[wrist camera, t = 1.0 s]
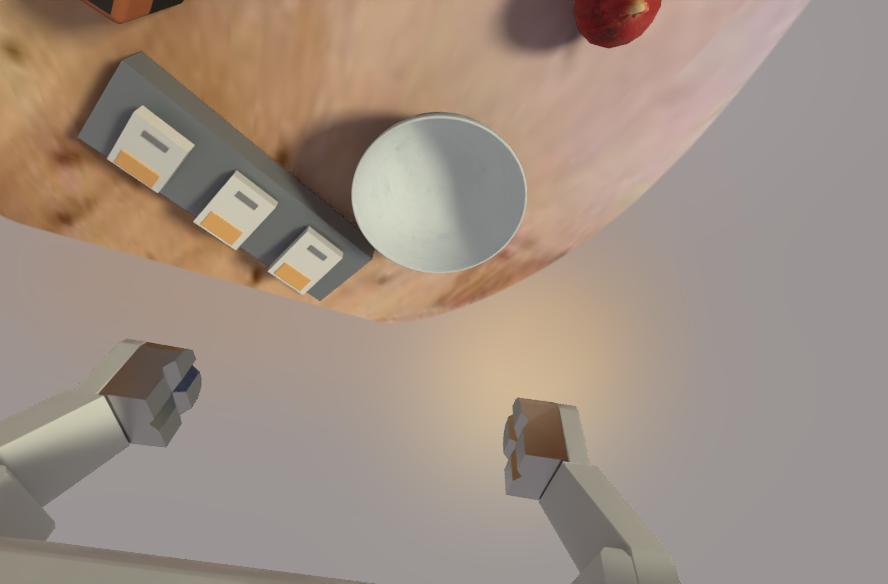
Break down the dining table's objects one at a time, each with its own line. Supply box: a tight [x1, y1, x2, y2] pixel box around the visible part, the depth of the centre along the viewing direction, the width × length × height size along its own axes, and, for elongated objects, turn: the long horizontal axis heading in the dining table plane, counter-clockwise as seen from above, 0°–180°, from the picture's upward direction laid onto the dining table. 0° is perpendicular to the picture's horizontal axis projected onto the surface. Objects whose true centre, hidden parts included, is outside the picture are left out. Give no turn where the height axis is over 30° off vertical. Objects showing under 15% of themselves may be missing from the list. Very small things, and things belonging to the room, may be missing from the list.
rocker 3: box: [268, 226, 343, 295], centre depth 45 cm, size 4×6×2 cm
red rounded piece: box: [574, 0, 661, 48], centre depth 31 cm, size 6×6×8 cm
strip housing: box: [78, 51, 374, 301], centre depth 43 cm, size 26×9×3 cm, turn 42°
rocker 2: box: [193, 170, 278, 250], centre depth 41 cm, size 4×6×2 cm
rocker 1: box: [107, 105, 195, 193], centre depth 37 cm, size 4×6×2 cm
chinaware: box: [351, 112, 527, 273], centre depth 40 cm, size 15×15×8 cm
